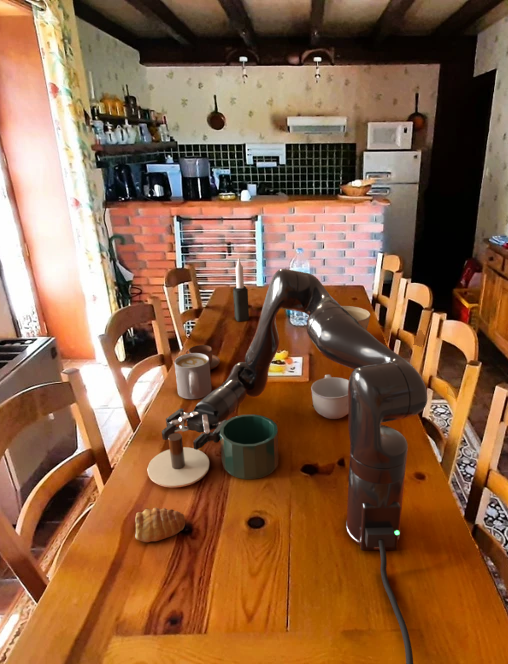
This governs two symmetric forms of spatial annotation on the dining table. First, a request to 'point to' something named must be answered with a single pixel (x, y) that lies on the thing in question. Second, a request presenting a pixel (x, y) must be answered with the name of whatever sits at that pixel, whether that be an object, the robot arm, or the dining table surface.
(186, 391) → the coffee mug
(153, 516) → the pastry
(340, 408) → the teacup
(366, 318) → the planter bowl
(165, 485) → the lid
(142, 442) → the dining table surface
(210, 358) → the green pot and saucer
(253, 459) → the green pot
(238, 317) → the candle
